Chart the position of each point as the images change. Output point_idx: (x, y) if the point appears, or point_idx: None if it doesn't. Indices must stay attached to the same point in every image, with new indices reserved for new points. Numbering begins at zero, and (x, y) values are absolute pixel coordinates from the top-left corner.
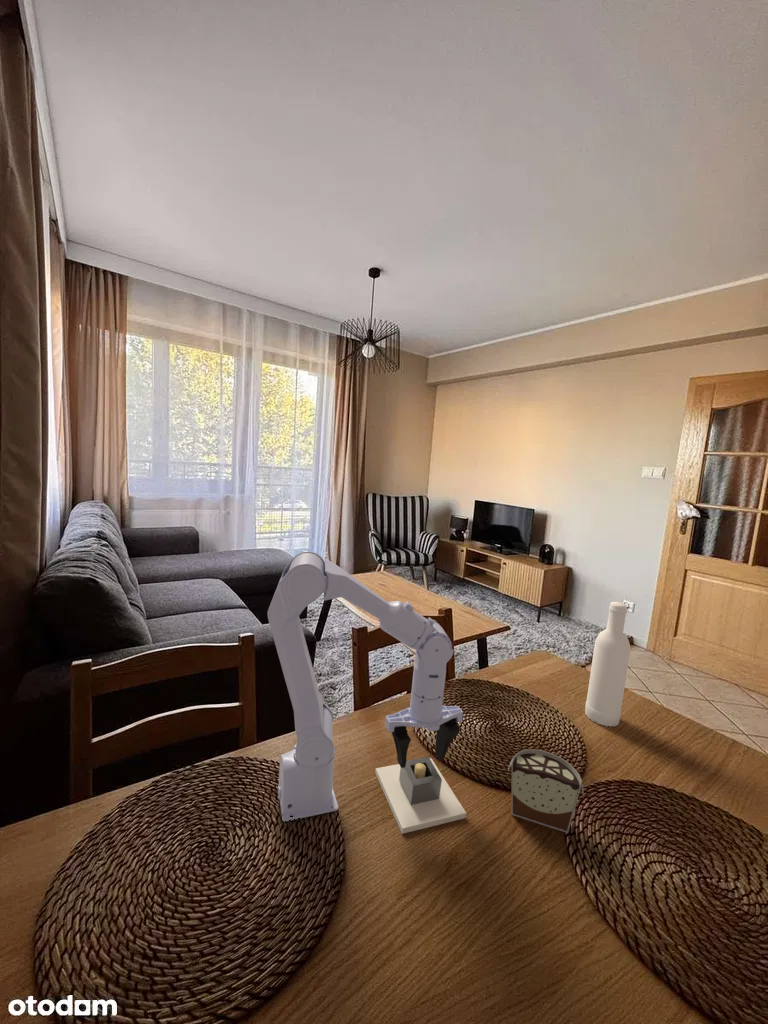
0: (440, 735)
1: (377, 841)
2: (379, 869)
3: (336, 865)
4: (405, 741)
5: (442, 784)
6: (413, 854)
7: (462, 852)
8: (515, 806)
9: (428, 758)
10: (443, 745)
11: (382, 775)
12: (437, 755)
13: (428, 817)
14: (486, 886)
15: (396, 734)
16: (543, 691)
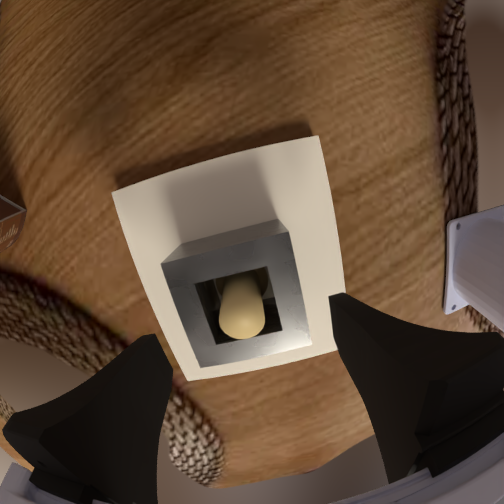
0: (134, 431)
1: (377, 124)
2: (374, 58)
3: (448, 92)
4: (462, 355)
5: (163, 296)
6: (290, 77)
7: (154, 84)
8: (8, 213)
9: (201, 360)
10: (121, 382)
11: None
12: (164, 358)
13: (228, 170)
14: (131, 19)
15: (497, 392)
16: None
